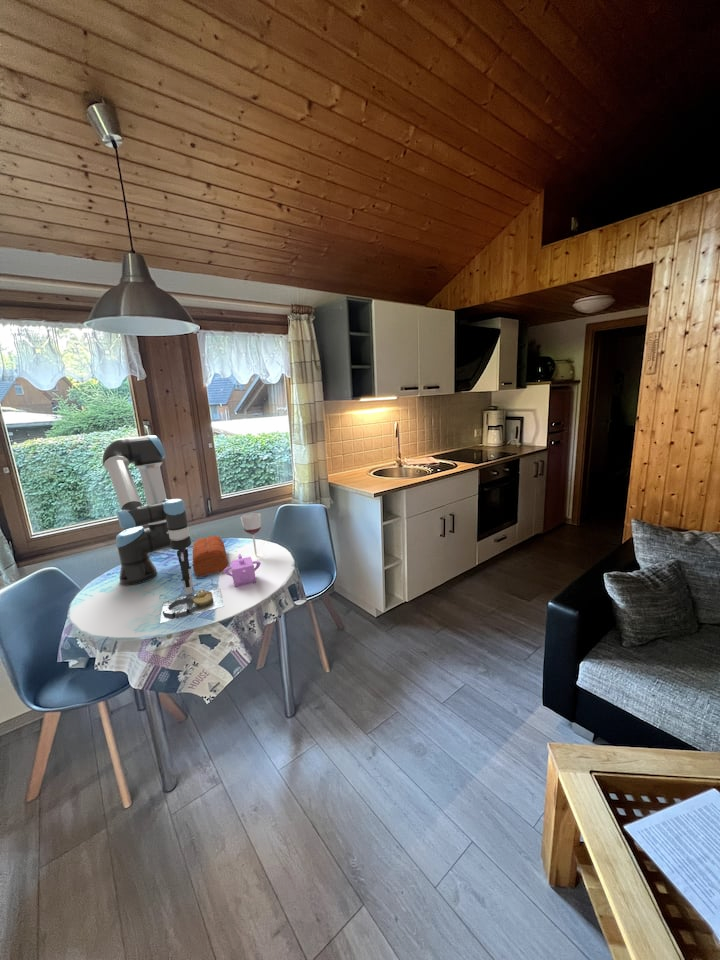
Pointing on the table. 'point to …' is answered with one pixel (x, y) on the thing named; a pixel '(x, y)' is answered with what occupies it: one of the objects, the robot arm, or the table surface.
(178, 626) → the table surface
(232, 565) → the teapot
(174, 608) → the carrier plate
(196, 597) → the gold cymbal
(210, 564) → the bread
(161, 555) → the table surface
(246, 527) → the wineglass
